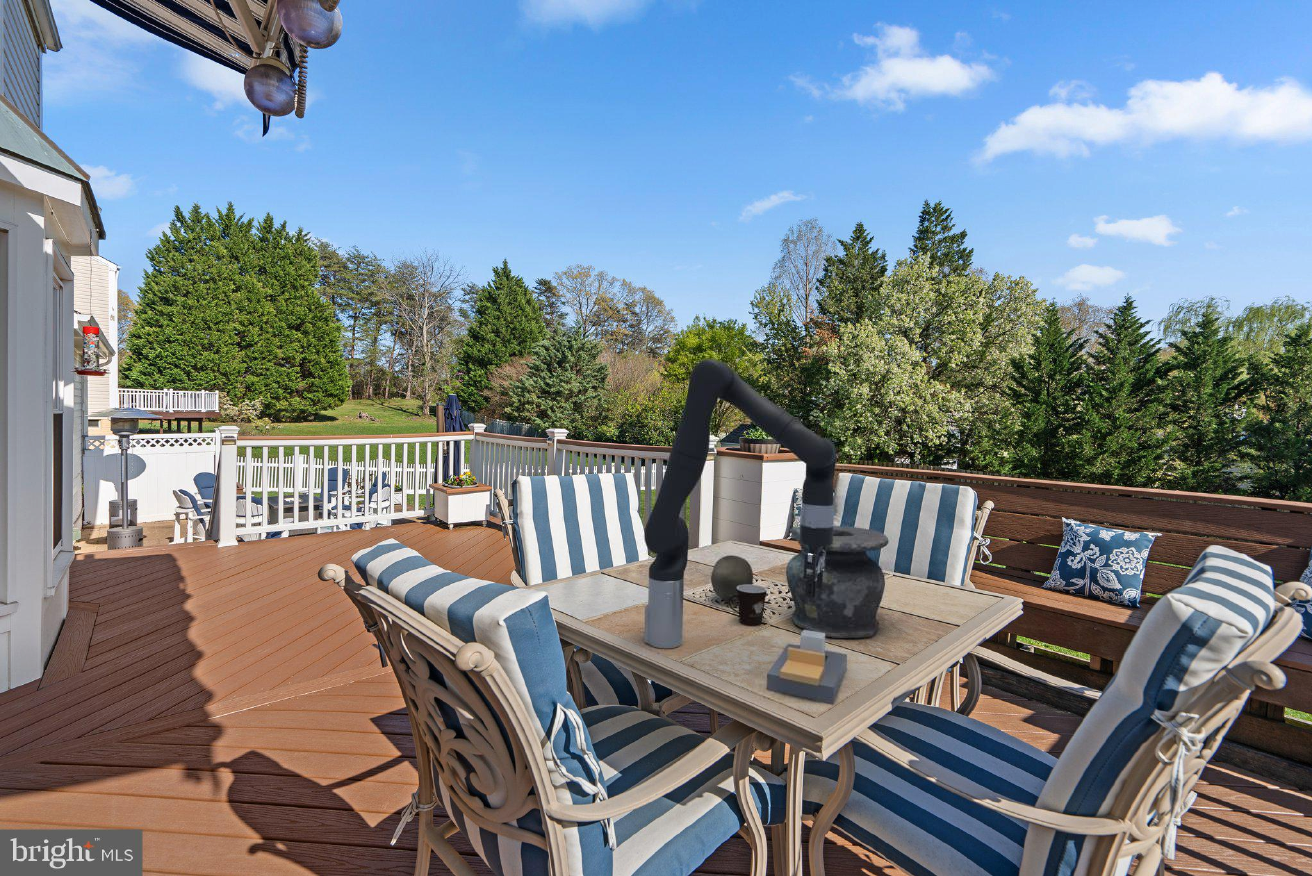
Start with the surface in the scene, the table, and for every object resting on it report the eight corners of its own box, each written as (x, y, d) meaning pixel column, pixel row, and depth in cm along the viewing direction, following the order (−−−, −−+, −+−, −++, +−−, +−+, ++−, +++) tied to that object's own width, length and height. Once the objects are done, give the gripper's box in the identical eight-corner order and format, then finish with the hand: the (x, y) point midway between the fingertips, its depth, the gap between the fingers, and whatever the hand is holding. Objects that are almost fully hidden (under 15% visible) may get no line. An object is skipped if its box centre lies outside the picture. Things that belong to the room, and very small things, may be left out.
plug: (799, 673, 135) (800, 635, 135) (802, 667, 138) (803, 629, 138) (821, 677, 133) (822, 638, 133) (824, 671, 136) (825, 633, 136)
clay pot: (899, 613, 176) (898, 518, 172) (875, 660, 151) (874, 550, 147) (805, 597, 192) (802, 509, 188) (770, 636, 167) (766, 537, 163)
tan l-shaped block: (779, 677, 124) (780, 659, 124) (788, 664, 131) (788, 647, 131) (818, 685, 120) (818, 667, 120) (824, 671, 128) (825, 653, 127)
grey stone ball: (701, 598, 192) (702, 553, 192) (737, 594, 198) (738, 550, 198) (724, 610, 180) (725, 562, 179) (762, 606, 186) (763, 559, 185)
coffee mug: (762, 617, 174) (763, 584, 174) (768, 627, 165) (769, 593, 165) (723, 617, 174) (724, 584, 173) (728, 627, 165) (729, 592, 165)
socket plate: (766, 689, 126) (767, 673, 126) (787, 657, 144) (788, 643, 144) (833, 704, 120) (833, 687, 120) (846, 668, 138) (847, 654, 138)
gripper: (806, 517, 143) (804, 583, 143) (793, 526, 130) (791, 597, 130) (838, 520, 140) (835, 587, 140) (828, 529, 127) (825, 603, 127)
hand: (814, 592), depth 135 cm, fingers open, 8 cm apart
